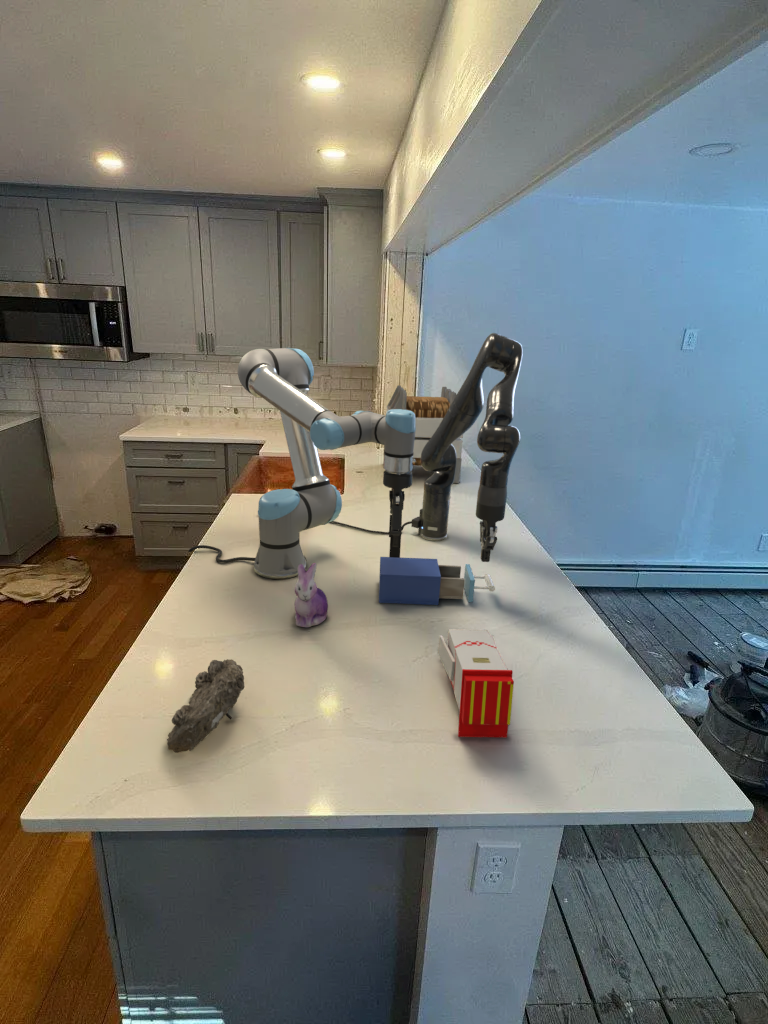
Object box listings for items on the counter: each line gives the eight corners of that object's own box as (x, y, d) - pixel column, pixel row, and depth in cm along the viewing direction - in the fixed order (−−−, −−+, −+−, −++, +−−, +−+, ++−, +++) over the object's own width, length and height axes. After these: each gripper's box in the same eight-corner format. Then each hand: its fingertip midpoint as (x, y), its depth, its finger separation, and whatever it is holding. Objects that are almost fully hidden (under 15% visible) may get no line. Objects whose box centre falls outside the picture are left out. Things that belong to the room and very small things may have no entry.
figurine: (299, 632, 137) (299, 576, 132) (286, 613, 145) (285, 559, 140) (336, 624, 141) (336, 570, 136) (320, 605, 149) (321, 553, 144)
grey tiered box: (382, 463, 289) (386, 382, 275) (445, 464, 293) (451, 384, 279) (390, 482, 257) (394, 392, 243) (460, 483, 261) (468, 394, 247)
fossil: (192, 660, 117) (244, 628, 112) (224, 691, 120) (276, 661, 115) (142, 746, 98) (202, 712, 93) (182, 779, 101) (242, 748, 96)
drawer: (488, 585, 163) (490, 564, 161) (494, 603, 153) (497, 581, 151) (415, 582, 163) (417, 562, 160) (417, 600, 153) (419, 578, 151)
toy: (488, 613, 130) (523, 677, 101) (484, 667, 133) (517, 744, 104) (435, 612, 130) (455, 676, 101) (432, 666, 133) (451, 743, 103)
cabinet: (434, 585, 164) (437, 558, 161) (438, 605, 153) (440, 576, 150) (379, 583, 163) (380, 556, 160) (378, 602, 153) (380, 574, 150)
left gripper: (415, 485, 134) (410, 566, 141) (410, 459, 158) (406, 530, 165) (383, 484, 134) (379, 565, 141) (383, 458, 158) (380, 529, 165)
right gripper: (511, 509, 143) (503, 571, 148) (500, 493, 155) (494, 551, 161) (481, 508, 142) (474, 570, 148) (473, 492, 155) (467, 550, 161)
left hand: (394, 546), depth 153 cm, fingers open, 13 cm apart
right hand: (484, 560), depth 155 cm, fingers closed
